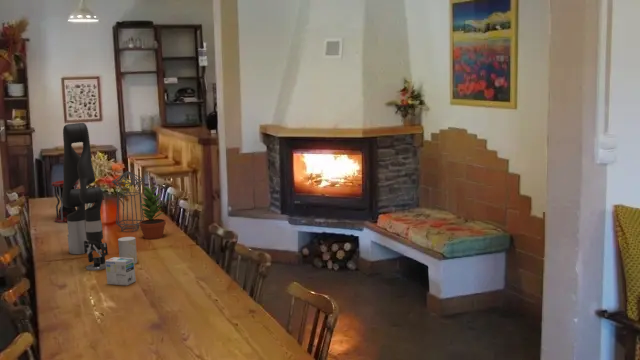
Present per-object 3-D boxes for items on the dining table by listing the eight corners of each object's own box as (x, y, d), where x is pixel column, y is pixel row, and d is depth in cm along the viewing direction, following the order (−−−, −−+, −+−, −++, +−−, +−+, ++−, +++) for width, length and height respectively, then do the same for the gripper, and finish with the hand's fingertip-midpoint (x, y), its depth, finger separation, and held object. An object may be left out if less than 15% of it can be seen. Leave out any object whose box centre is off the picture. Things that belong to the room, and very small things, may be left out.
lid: (81, 269, 338) (81, 258, 338) (99, 264, 347) (98, 254, 346) (95, 272, 333) (94, 261, 332) (112, 267, 341) (111, 256, 340)
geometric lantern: (123, 227, 429) (120, 169, 424) (148, 227, 427) (145, 169, 422) (112, 232, 414) (109, 173, 409) (138, 233, 411) (135, 173, 407)
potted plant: (173, 235, 403) (169, 182, 398) (153, 241, 390) (149, 187, 385) (154, 232, 411) (150, 181, 406) (134, 238, 398) (130, 185, 393)
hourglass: (50, 222, 449) (46, 183, 445) (63, 217, 465) (59, 179, 461) (73, 223, 446) (70, 183, 442) (86, 217, 462) (82, 179, 458)
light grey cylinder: (132, 265, 342) (130, 240, 340) (116, 264, 343) (114, 240, 341) (140, 260, 349) (138, 236, 348) (124, 260, 351) (122, 236, 349)
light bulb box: (136, 281, 314) (134, 257, 313) (127, 285, 308) (125, 261, 307) (115, 279, 318) (113, 256, 316) (106, 284, 312) (104, 260, 310)
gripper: (77, 229, 338) (80, 263, 340) (97, 232, 330) (100, 266, 332) (90, 226, 344) (93, 259, 346) (110, 229, 336) (113, 263, 338)
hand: (96, 263), depth 339 cm, fingers open, 8 cm apart
